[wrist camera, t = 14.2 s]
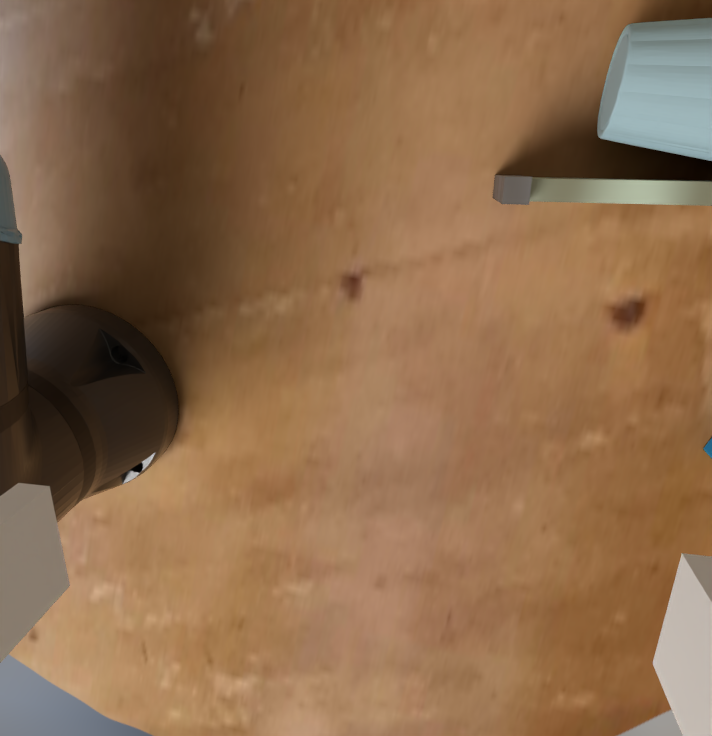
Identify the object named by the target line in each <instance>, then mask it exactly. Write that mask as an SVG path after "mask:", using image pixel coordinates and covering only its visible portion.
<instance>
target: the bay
mask: <svg viewBox="0 0 712 736" xmlns="http://www.w3.org/2000/svg"><path fill="white" fill-rule="evenodd" d="M493 198H494V199H495V200H497V201H498V202H500V203H501V204H524V205H529V201H540V202H581V203H622V204H664V205H705V206H712V180H661V179H606V178H551V177H529V176H520V175H495V180H494V190H493Z"/></svg>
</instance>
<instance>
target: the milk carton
mask: <svg viewBox="0 0 712 736" xmlns="http://www.w3.org/2000/svg"><path fill="white" fill-rule="evenodd" d="M703 450H704V451H705V452H706V453H707V454H708V455H709V456H710V457H711V458H712V438H711V439H710V440H709V442H708V443H707V444H706V446H705V447H704V448H703Z"/></svg>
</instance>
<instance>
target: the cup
mask: <svg viewBox="0 0 712 736" xmlns="http://www.w3.org/2000/svg"><path fill="white" fill-rule="evenodd" d="M597 133H598V137H599V138H601V139H605V140H610V141H614V142H619V143H624V144H629V145H634V146H639V147H644V148H649V149H654V150H659V151H664V152H669V153H674V154H679V155H684V156H689V157H694V158H699V159H704V160H709V161H712V18H701V19H686V20H671V21H656V22H642V23H632V24H628V25H627V26H626V27H625V28H624V30H623V32H622V33H621V35H620V38H619V40H618V43H617V45H616V48H615V50H614V53H613V56H612V60H611V63H610V66H609V70H608V73H607V77H606V81H605V85H604V89H603V93H602V97H601V103H600V109H599V115H598V124H597Z"/></svg>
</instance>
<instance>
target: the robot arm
mask: <svg viewBox="0 0 712 736" xmlns="http://www.w3.org/2000/svg"><path fill="white" fill-rule="evenodd" d="M21 242H22V234H21V233H20V232H19V231H18V229H17V224H16V217H15V210H14V202H13V195H12V188H11V180H10V174H9V171H8V168H7V165H6V163H5V161H4V160H3V158H2V157H1V155H0V663H1V662H2V661H3V659H4V658H5V657H6V656H7V655H8V654H9V653H10V652H11V651H12V649H13V648H14V647H15V646H16V645H17V644H18V643H19V642H20V641H21V639H22V638H23V637H24V636H25V635H26V634H27V633H28V632H29V631H30V629H31V628H32V627H33V626H34V625H35V624H36V623H37V622H38V621H39V619H40V618H41V617H42V616H43V615H44V614H45V613H46V612H47V611H48V610H49V608H50V607H51V606H52V605H53V604H54V603H55V602H56V601H57V600H58V598H59V597H60V596H61V595H62V594H63V593H64V592H65V591H66V590H67V588H68V587H69V586H70V584H69V579H68V574H67V569H66V564H65V559H64V554H63V549H62V545H61V540H60V535H59V530H58V525H57V522H58V521H59V520H60V519H61V518H62V517H64V516H65V515H66V514H67V513H68V512H69V511H70V510H71V509H72V508H73V507H74V506H75V505H77V504H78V503H79V502H80V501H81V500H83V499H85V498H88V497H91V496H93V495H96V494H98V493H101V492H104V491H106V490H109V489H112V488H114V487H117V486H119V485H122V484H124V483H127V482H129V481H131V480H133V479H135V478H136V477H138V476H140V475H141V474H143V473H144V472H145V471H146V470H147V469H148V468H149V467H151V466H152V465H153V464H154V463H155V462H156V461H157V460H158V459H159V458H160V457H161V456H162V454H163V453H164V452H165V451H166V449H167V448H168V446H169V445H170V443H171V441H172V439H173V437H174V434H175V431H176V427H177V422H178V398H177V392H176V388H175V384H174V381H173V379H172V376H171V374H170V371H169V369H168V367H167V365H166V363H165V362H164V360H163V358H162V357H161V355H160V354H159V352H158V351H157V350H156V348H155V347H154V346H153V345H152V344H151V342H150V341H149V340H148V339H147V338H146V337H145V336H144V335H143V334H142V333H140V332H139V331H138V330H137V329H136V328H134V327H133V326H132V325H130V324H129V323H127V322H126V321H124V320H123V319H121V318H119V317H117V316H115V315H113V314H111V313H109V312H106V311H104V310H101V309H98V308H94V307H89V306H84V305H62V306H56V307H52V308H49V309H46V310H43V311H40V312H38V313H35V314H32V315H29V316H27V317H25V318H24V315H23V302H22V288H21V275H20V262H19V244H22V243H21ZM653 666H654V668H655V670H656V673H657V675H658V678H659V680H660V682H661V685H662V687H663V690H664V692H665V694H666V697H667V699H668V702H669V704H670V707H671V709H672V711H673V714H674V716H675V718H676V721H677V723H678V726H679V728H680V731H681V733H682V735H683V736H712V557H710V556H701V555H691V554H682V555H681V559H680V563H679V566H678V570H677V574H676V578H675V581H674V585H673V589H672V593H671V596H670V600H669V604H668V608H667V611H666V615H665V619H664V623H663V626H662V630H661V634H660V638H659V641H658V645H657V649H656V653H655V656H654V660H653Z"/></svg>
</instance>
